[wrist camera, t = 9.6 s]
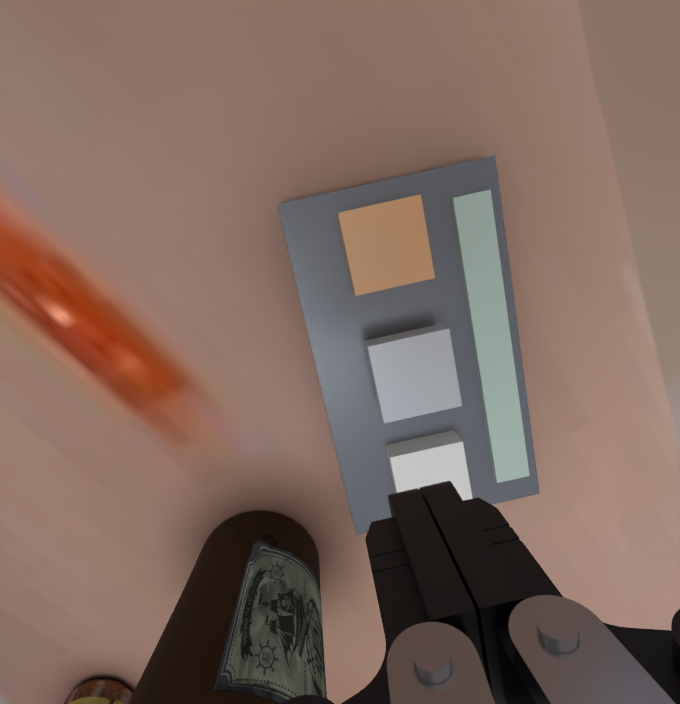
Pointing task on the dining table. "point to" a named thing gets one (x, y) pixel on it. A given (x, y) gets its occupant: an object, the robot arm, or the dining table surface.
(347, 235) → the key orange
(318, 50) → the dining table surface
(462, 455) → the key white
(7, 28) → the dining table surface
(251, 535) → the dark brown glass bottle
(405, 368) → the key grey
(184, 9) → the dining table surface
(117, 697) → the sauce bottle
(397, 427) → the keypad board
